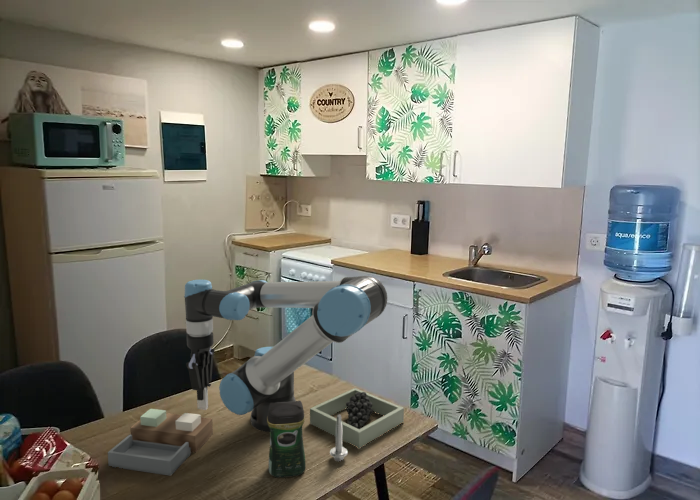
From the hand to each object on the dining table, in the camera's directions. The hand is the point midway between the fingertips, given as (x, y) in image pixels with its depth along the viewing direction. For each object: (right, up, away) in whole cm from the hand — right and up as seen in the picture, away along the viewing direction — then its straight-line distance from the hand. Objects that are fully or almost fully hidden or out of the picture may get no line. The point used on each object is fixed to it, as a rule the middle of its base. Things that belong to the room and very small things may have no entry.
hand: (202, 408), depth 154 cm
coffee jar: (+28, -10, -20) cm, 35 cm away
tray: (-9, -9, -16) cm, 21 cm away
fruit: (+46, -6, +4) cm, 47 cm away
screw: (+41, -9, -15) cm, 45 cm away
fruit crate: (+46, -6, +4) cm, 47 cm away
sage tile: (-13, -2, -6) cm, 14 cm away
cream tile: (-2, -3, -8) cm, 9 cm away
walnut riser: (-7, -7, -6) cm, 12 cm away
